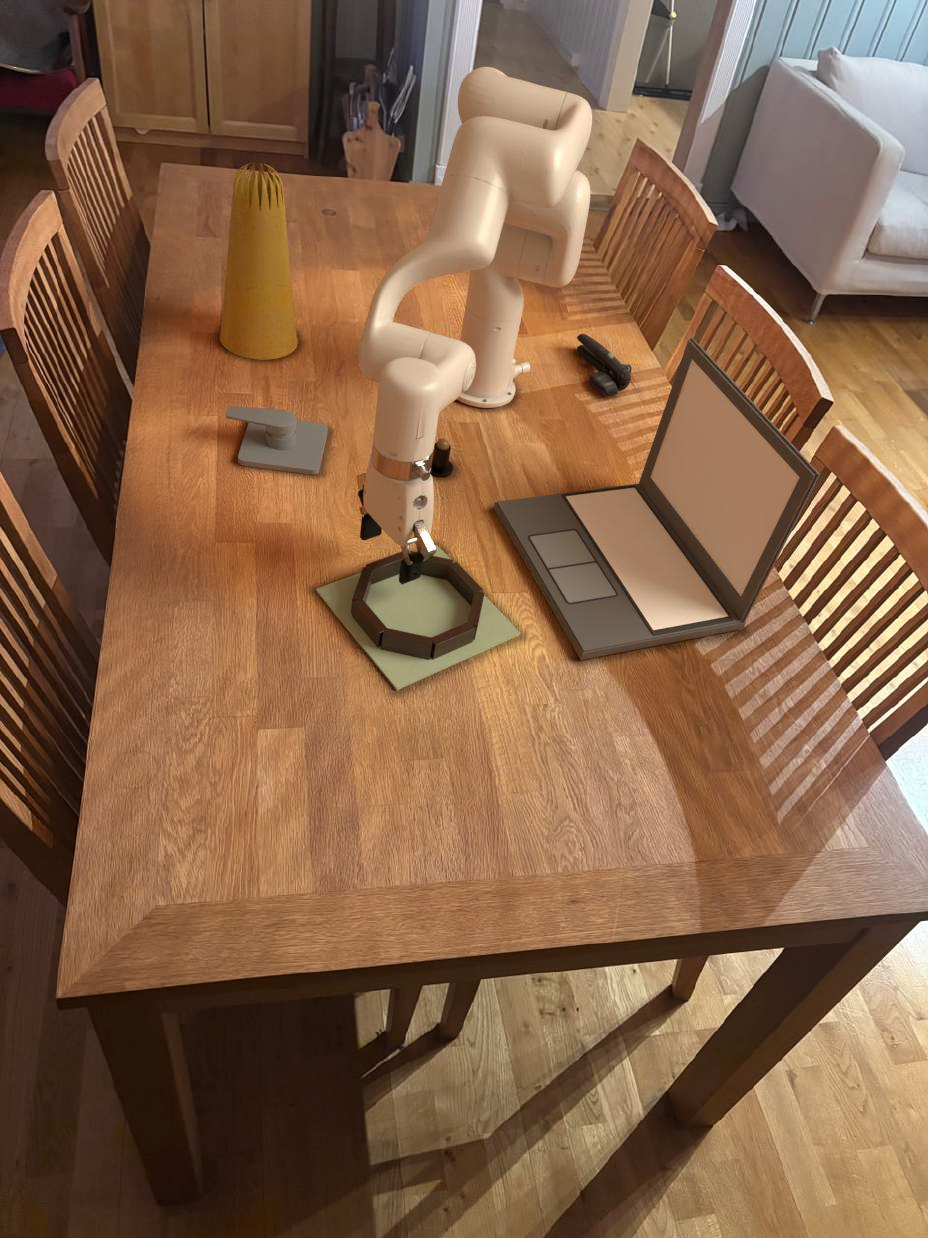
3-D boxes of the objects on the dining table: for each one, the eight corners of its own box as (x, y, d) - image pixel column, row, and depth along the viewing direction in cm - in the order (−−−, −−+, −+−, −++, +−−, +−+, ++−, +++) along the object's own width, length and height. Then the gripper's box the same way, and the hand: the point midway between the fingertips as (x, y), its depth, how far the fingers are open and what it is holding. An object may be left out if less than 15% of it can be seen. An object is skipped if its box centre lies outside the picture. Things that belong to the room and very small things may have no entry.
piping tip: (274, 368, 167) (275, 193, 146) (204, 343, 169) (195, 167, 148) (311, 334, 176) (317, 166, 155) (244, 311, 178) (242, 142, 157)
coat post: (442, 457, 156) (447, 428, 152) (458, 472, 154) (463, 443, 150) (419, 464, 154) (424, 435, 150) (435, 480, 152) (440, 451, 148)
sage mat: (436, 546, 141) (436, 544, 141) (520, 635, 131) (520, 633, 131) (315, 590, 131) (315, 588, 131) (396, 690, 121) (397, 688, 121)
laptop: (492, 510, 148) (527, 348, 129) (641, 491, 158) (696, 337, 138) (579, 662, 129) (636, 498, 109) (743, 630, 138) (824, 473, 118)
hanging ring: (432, 553, 139) (435, 538, 137) (503, 628, 131) (507, 614, 129) (331, 591, 131) (332, 576, 129) (399, 674, 122) (401, 660, 120)
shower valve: (234, 387, 152) (330, 400, 153) (235, 416, 156) (328, 429, 157) (218, 432, 143) (319, 446, 144) (219, 462, 147) (318, 475, 148)
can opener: (634, 399, 177) (643, 372, 173) (601, 402, 175) (608, 375, 171) (594, 347, 188) (601, 321, 184) (562, 349, 186) (568, 322, 182)
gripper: (467, 487, 118) (448, 588, 130) (389, 411, 126) (378, 513, 138) (415, 504, 114) (401, 607, 126) (339, 425, 123) (333, 528, 135)
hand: (389, 557), depth 132 cm, fingers open, 9 cm apart
